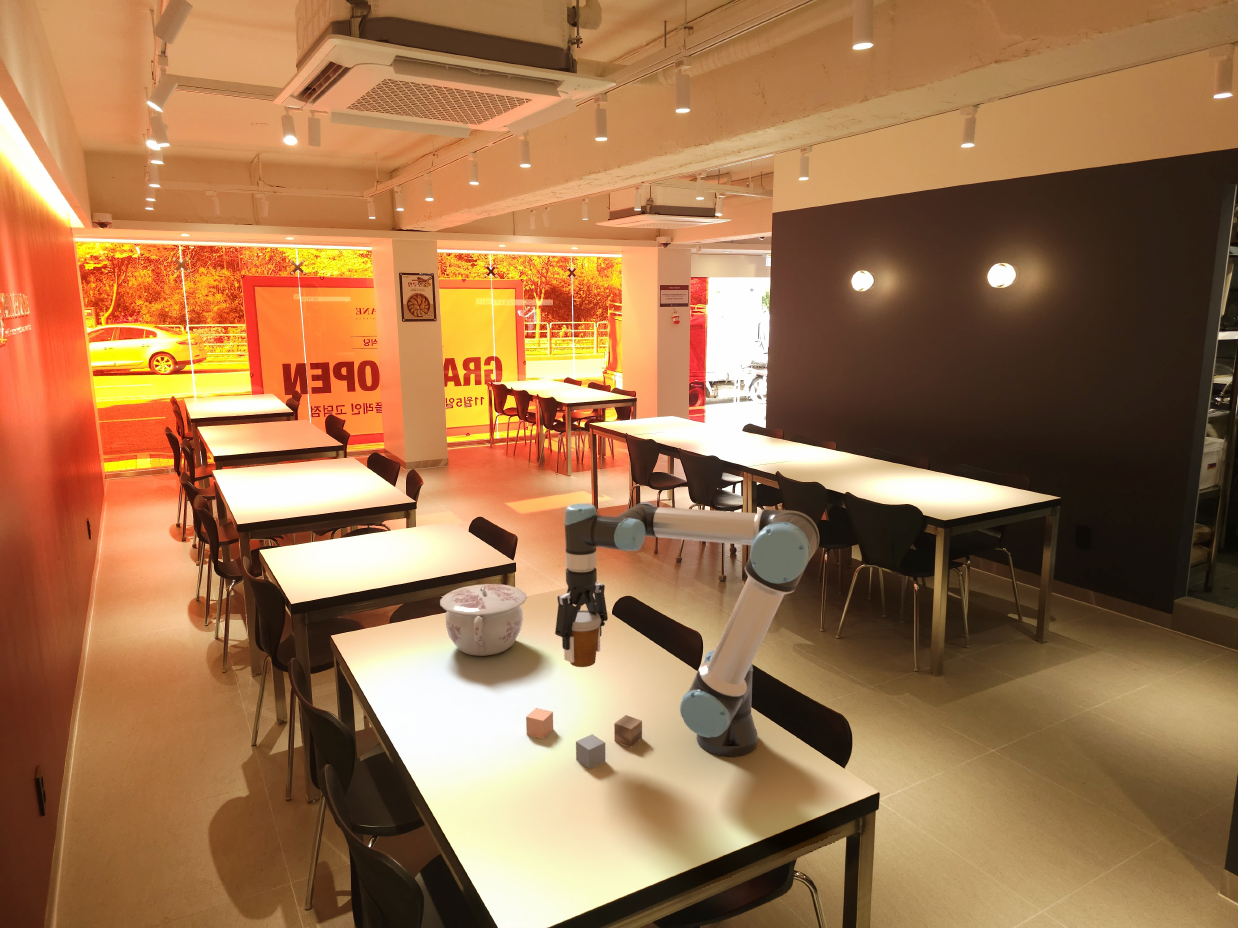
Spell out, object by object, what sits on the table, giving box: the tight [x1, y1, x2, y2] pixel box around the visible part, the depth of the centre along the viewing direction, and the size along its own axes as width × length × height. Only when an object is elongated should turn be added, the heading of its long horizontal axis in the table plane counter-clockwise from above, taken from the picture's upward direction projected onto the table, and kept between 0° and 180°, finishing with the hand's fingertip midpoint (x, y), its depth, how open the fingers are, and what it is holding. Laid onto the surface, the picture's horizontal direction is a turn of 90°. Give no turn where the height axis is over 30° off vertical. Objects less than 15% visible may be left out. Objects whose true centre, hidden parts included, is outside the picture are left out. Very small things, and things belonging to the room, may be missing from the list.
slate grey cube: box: [575, 734, 606, 770], centre depth 185 cm, size 5×5×5 cm
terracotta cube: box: [525, 707, 554, 739], centre depth 198 cm, size 5×5×5 cm
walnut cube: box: [613, 714, 643, 748], centre depth 194 cm, size 5×5×5 cm
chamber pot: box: [439, 583, 528, 657], centre depth 248 cm, size 28×28×21 cm
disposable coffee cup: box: [566, 609, 601, 668], centre depth 191 cm, size 10×10×12 cm
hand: (582, 655), depth 192 cm, fingers closed on disposable coffee cup, 8 cm apart
